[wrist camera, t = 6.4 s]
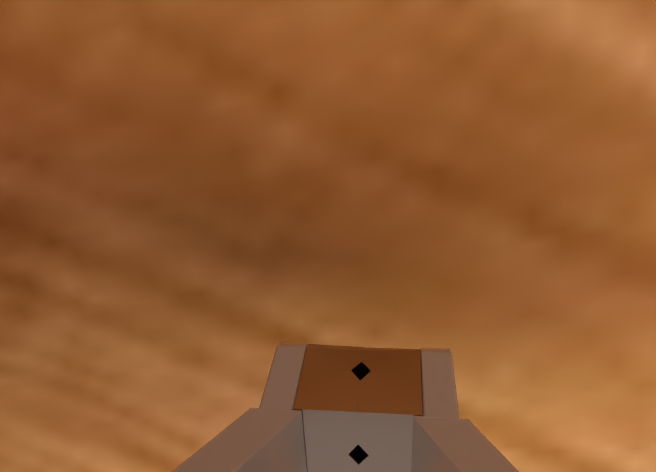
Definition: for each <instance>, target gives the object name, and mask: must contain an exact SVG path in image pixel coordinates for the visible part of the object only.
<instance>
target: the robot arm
mask: <svg viewBox="0 0 656 472" xmlns="http://www.w3.org/2000/svg"><path fill="white" fill-rule="evenodd" d="M172 472H519V471H518V470H517V469H516V468H515V467H514V466H513V465H512V464H511V463H510V462H509V461H508V460H507V459H506V458H505V457H504V456H503V455H502V454H501V453H500V452H499V450H498V449H497V448H496V447H495V446H494V445H493V444H492V443H491V442H490V441H489V440H488V439H487V438H486V437H485V436H484V435H483V434H482V433H481V432H480V431H479V430H478V429H477V428H476V427H475V426H474V424H473V423H472V422H471V421H470V420H469V419H460V418H459V412H458V403H457V394H456V385H455V376H454V368H453V359H452V352H451V351H450V349H426V348H421V350H420V349H399V348H366V347H351V346H334V345H317V344H308V345H307V344H293V343H280V344H279V345H278V347H277V348H276V351H275V355H274V358H273V362H272V365H271V369H270V372H269V376H268V379H267V383H266V386H265V390H264V393H263V397H262V400H261V404H260V407H259V409H258V408H250V409H249V410H248V411H247V412H245V413H244V414H243V415H242V416H240V417H239V418H238V419H237V420H236V421H234V422H233V423H232V424H231V425H229V426H228V427H227V428H226V429H224V430H223V431H222V432H221V433H219V434H218V435H217V436H216V437H214V438H213V439H212V440H211V441H209V442H208V443H207V444H206V445H204V446H203V447H202V448H201V449H199V450H198V451H197V452H196V453H195V454H193V455H192V456H191V457H190V458H188V459H187V460H186V461H185V462H183V463H182V464H181V465H180V466H178V467H177V468H176V469H175V470H173V471H172Z"/></svg>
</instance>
